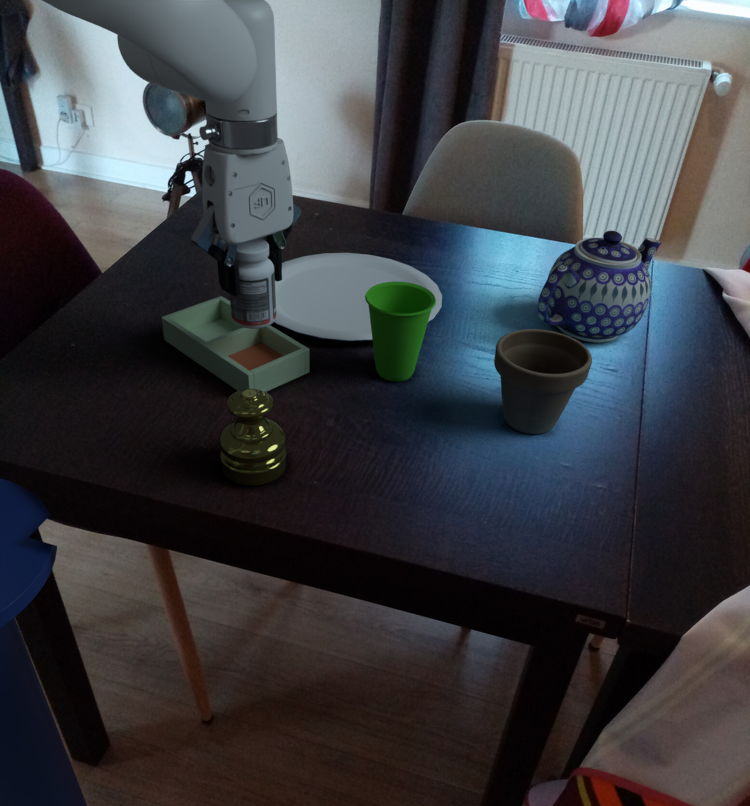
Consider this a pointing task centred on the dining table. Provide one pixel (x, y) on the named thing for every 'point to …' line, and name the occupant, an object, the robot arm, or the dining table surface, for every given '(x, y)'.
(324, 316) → the plate
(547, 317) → the teapot
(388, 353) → the cup
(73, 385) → the dining table surface
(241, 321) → the pill bottle
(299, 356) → the tray
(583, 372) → the flower pot
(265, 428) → the brass tiered cylinder
